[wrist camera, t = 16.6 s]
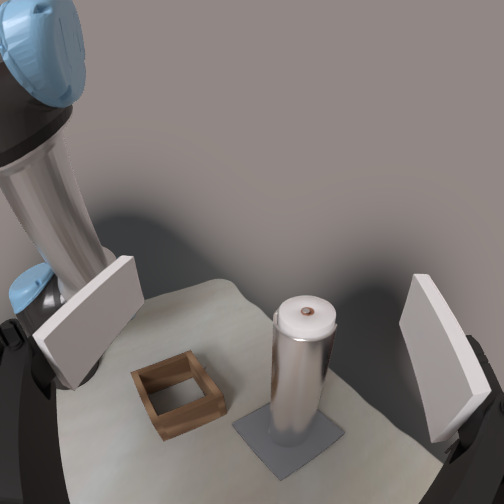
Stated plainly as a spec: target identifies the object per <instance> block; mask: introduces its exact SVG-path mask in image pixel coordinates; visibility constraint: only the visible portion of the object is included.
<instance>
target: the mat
mask: <svg viewBox="0 0 504 504" xmlns="http://www.w3.org/2000/svg"><path fill="white" fill-rule="evenodd" d="M269 424H270V403H269V404H267V405H265V406H263V407H262V408H260V409H258V410H256V411H254V412H253V413H251V414H249V415H247V416H245V417H243V418H241V419H239V420H238V421H236V422H234V423H232V425H233V427H234V428H235V429H236V430H237V432H238V433H239V434H240V435H241V437H242V438H243V439H244V440H245V441H246V443H247V444H248V445H249V446H250V447H251V449H252V450H253V451H254V452H255V453H256V454H257V456H258V457H259V458H260V459H261V460H262V461H263V462H264V463H265V465H266V466H267V467H268V468H269V469H270V470H271V471H272V472H273V473H274V474H275V475H276V477H277V478H278V479H279V480H280V481H281V480H283V479H284V478H286V477H287V476H289V475H290V474H292V473H293V472H295V471H296V470H298V469H299V468H301V467H302V466H304V465H305V464H306V463H308V462H309V461H311V460H312V459H313V458H315V457H316V456H317V455H319V454H320V453H321V452H323V451H324V450H325V449H327V448H328V447H329V446H330V445H332V444H333V443H334V442H335V441H337V440H338V439H339V438H340V437H341V436H343V435H344V434H345V432H344V431H343V430H341V429H340V428H339V427H338V426H337V425H335V424H334V423H333V422H332V421H331V420H330V419H328V418H327V417H326V416H325V415H324V414H323V413H321V412H320V411H319V410H318V409H317V410H316V414H315V417H314V420H313V424H312V427H311V430H310V433H309V436H308V438H307V439H306V440H305V442H304V443H302V444H301V445H299V446H296V447H290V448H287V447H282V446H279V445H277V444H276V443H274V442H273V441H272V440H271V438H270V436H269Z"/></svg>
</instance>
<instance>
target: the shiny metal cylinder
mask: <svg viewBox="0 0 504 504" xmlns="http://www.w3.org/2000/svg"><path fill="white" fill-rule="evenodd" d="M335 318H336V311H335V309H334V307H333V306H332V305H331V304H330V303H329V302H328V301H326V300H324V299H321V298H318V297H315V296H307V295H304V296H297V297H292V298H290V299H288V300H286V301H285V302H283V303H282V304H281V306H280V307H279V308H278V309H277V310H276V311H275V313H274V316H273V346H272V377H271V402H270V424H269V436H270V438H271V440H272V441H273V442H274V443H276V444H277V445H279V446H282V447H287V448H290V447H296V446H299V445H301V444H302V443H304V442H305V440H306V439H307V438H308V436H309V433H310V430H311V427H312V424H313V420H314V417H315V414H316V410H317V407H318V403H319V400H320V396H321V392H322V389H323V385H324V381H325V377H326V373H327V369H328V365H329V361H330V357H331V352H332V348H333V343H334V339H335V333H336V329H337V324H335Z"/></svg>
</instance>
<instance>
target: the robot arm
mask: <svg viewBox="0 0 504 504" xmlns="http://www.w3.org/2000/svg"><path fill="white" fill-rule="evenodd" d="M84 60H85V49H84V42H83V36H82V30H81V25H80V21H79V17H78V14H77V11H76V8H75V6H74V4H73V1H72V0H9V1H7V2H5V3H3V4H2V5H0V188H1V190H2V192H3V194H4V196H5V198H6V200H7V201H8V203H9V205H10V207H11V209H12V210H13V212H14V214H15V215H16V217H17V219H18V221H19V222H20V224H21V225H22V227H23V229H24V230H25V232H26V233H27V235H28V236H29V238H30V239H31V241H32V242H33V244H34V245H35V247H36V248H37V250H38V251H39V252H40V254H41V255H42V257H43V258H44V260H45V261H46V262H45V263H41V264H38V265H36V266H34V267H32V268H30V269H28V270H27V271H25V272H24V273H22V274H21V275H20V276H19V277H18V278H17V279H16V280H15V281H14V282H13V284H12V285H11V287H10V290H9V298H10V301H11V304H12V307H13V309H14V312H15V314H16V316H17V318H18V320H19V321H18V320H17V319H9V320H7V321H5V322H3V323H2V324H1V325H0V504H70V502H69V498H68V493H67V489H66V484H65V479H64V474H63V468H62V462H61V455H60V447H59V437H58V426H57V408H56V388H57V389H62V390H68V389H72V390H74V391H75V390H76V388H77V387H78V386H80V385H82V384H84V383H85V382H87V381H88V380H89V379H90V378H91V377H92V376H93V374H94V373H95V371H96V369H97V367H98V363H99V358H100V357H101V355H102V354H103V353H104V352H105V350H106V349H107V348H108V347H109V345H110V344H111V343H112V342H113V340H114V339H115V338H116V337H117V335H118V334H119V333H120V332H121V330H122V329H123V328H124V327H125V325H126V324H127V323H128V322H129V321H130V320H131V319H133V318H134V317H135V315H136V312H137V311H138V310H139V309H140V307H141V306H142V305H143V304H144V303H145V301H144V297H143V294H142V290H141V286H140V282H139V278H138V274H137V270H136V265H135V261H134V257H133V256H121V257H118V258H116V257H115V256H114V254H113V253H112V252H111V251H109V250H108V249H106V248H104V247H102V246H101V245H100V242H99V240H98V237H97V235H96V232H95V230H94V228H93V225H92V223H91V220H90V217H89V215H88V212H87V209H86V207H85V204H84V201H83V198H82V196H81V193H80V190H79V187H78V184H77V181H76V178H75V174H74V171H73V168H72V165H71V161H70V158H69V154H68V151H67V147H66V143H65V139H64V135H63V130H64V129H65V127H66V126H67V124H68V123H69V121H70V119H71V117H72V115H73V107H72V104H73V103H74V102H75V101H77V100H78V99H79V98H80V97H81V95H82V93H83V90H84V86H85V78H86V69H85V63H84ZM399 325H400V327H401V330H402V333H403V336H404V339H405V342H406V345H407V348H408V351H409V355H410V358H411V361H412V365H413V368H414V371H415V375H416V378H417V382H418V386H419V390H420V393H421V397H422V401H423V406H424V409H425V414H426V419H427V423H428V428H429V433H430V439H431V443H434V442H439V441H443V440H448V439H450V438H451V437H452V436H453V435H454V434H455V433H456V432H457V431H458V433H459V439H457V440H456V441H455V442H454V443H453V444H452V445H451V446H450V447H449V448H448V449H447V450H446V451H445V453H446V454H447V453H448V452H449V451H450V450H451V452H450V454H449V456H448V457H447V459H446V461H445V463H444V465H443V466H442V468H441V470H440V472H439V473H438V475H437V477H436V478H435V480H434V481H433V483H432V485H431V486H430V488H429V489H428V491H427V492H426V494H425V495H424V497H423V498H422V500H421V501H420V502H419V504H504V393H503V391H502V389H501V387H500V385H499V382H498V380H497V378H496V376H495V374H494V372H493V369H492V367H491V365H490V363H488V359H487V357H486V355H484V352H483V350H482V348H481V346H480V344H479V343H478V342H477V341H476V340H475V339H474V338H473V337H472V336H471V335H465V334H464V332H463V331H462V329H461V327H460V325H459V323H458V322H457V320H456V318H455V316H454V315H453V313H452V311H451V310H450V308H449V306H448V305H447V303H446V301H445V300H444V298H443V296H442V295H441V293H440V292H439V290H438V289H437V287H436V286H435V284H434V283H433V281H432V279H431V278H430V277H429V275H428V274H414V275H413V279H412V283H411V286H410V290H409V293H408V297H407V300H406V303H405V307H404V310H403V313H402V316H401V320H400V322H399ZM22 327H23V328H22ZM23 329H24V330H23ZM24 331H25V332H24ZM25 333H26V334H25ZM26 335H27V336H26Z"/></svg>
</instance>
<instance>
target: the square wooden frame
mask: <svg viewBox="0 0 504 504" xmlns="http://www.w3.org/2000/svg"><path fill="white" fill-rule="evenodd" d="M131 375H132V378H133V380H134V383H135V385H136V388H137V390H138V392H139V395H140V397H141V400H142V402H143V404H144V406H145V409H146V411H147V413H148V415H149V417H150V420H151V422H152V424H153V425H154V427H155V429H156V430H157V432H158V433H159V435H160V436H161V438H162V439H163V441H166V440H168V439H171V438H173V437H176V436H178V435H181V434H183V433H186V432H188V431H190V430H193V429H195V428H197V427H200V426H202V425H204V424H206V423H208V422H211V421H213V420H215V419H217V418H219V417H221V416H223V415H225V414H227V412H226V407H225V401H224V396H223V394H222V392H221V391H220V390H219V389H218V387H217V386H216V385H215V383H214V382H213V381H212V379H211V378H210V377H209V375H208V374H207V373H206V371H205V370H204V368H203V367H202V366H201V364H200V363H199V361H198V360H197V359H196V357H195V356H194V354H193V353H192V351H191V350H190V351H187V352H184V353H182V354H179V355H177V356H174V357H172V358H169V359H166V360H164V361H161V362H158V363H156V364H153V365H150V366H147V367H145V368H142V369H139V370H136V371H133V372H131ZM192 377H193V378H194V379H195V381H196V382H197V384H198V385H199V387H200V388H201V390H202V391H203V393H204V394H205V397H202V398H200V399H198V400H196V401H193V402H191V403H189V404H186V405H184V406H181V407H179V408H176V409H174V410H172V411H169V412H166V413H164V414H161V415H159V416H158V415H157V413H156V411H155V408H154V406H153V404H152V402H151V400H150V398H149V396H148V395H149V394H151V393H154V392H157V391H159V390H162V389H165V388H167V387H170V386H172V385H175V384H177V383H180V382H182V381H185V380H187V379H190V378H192Z"/></svg>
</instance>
